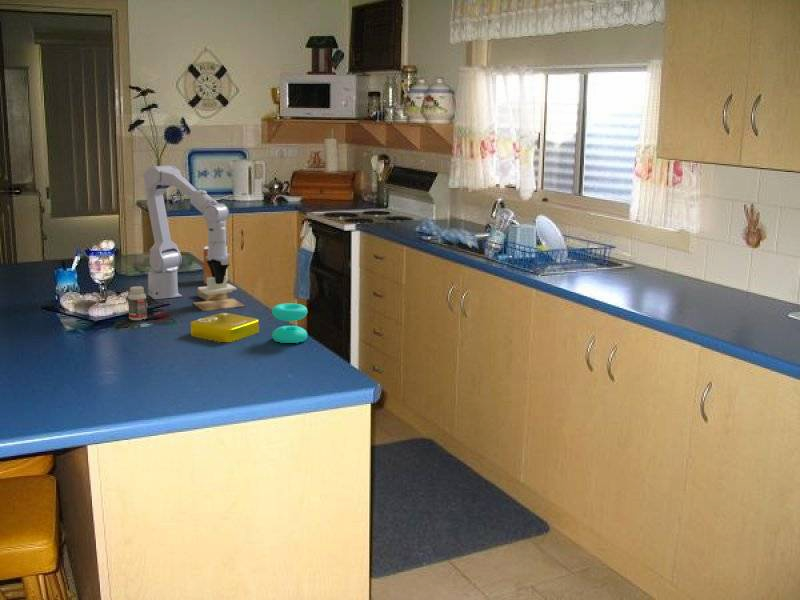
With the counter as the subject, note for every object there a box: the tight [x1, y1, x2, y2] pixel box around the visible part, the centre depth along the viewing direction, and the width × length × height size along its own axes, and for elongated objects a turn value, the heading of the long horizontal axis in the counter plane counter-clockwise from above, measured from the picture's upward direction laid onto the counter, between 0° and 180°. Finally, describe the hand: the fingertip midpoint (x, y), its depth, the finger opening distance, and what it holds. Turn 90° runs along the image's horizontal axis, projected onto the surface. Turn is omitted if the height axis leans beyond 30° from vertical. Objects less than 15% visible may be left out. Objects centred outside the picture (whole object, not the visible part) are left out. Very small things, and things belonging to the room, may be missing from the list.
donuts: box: [271, 302, 308, 344], centre depth 240 cm, size 10×10×10 cm
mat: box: [192, 297, 246, 312], centre depth 277 cm, size 14×11×1 cm
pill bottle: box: [127, 285, 148, 321], centre depth 258 cm, size 5×5×10 cm
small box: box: [203, 245, 228, 285], centre depth 309 cm, size 8×6×13 cm
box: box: [197, 289, 229, 301], centre depth 287 cm, size 7×10×3 cm
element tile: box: [190, 311, 260, 343], centre depth 245 cm, size 15×15×5 cm
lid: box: [197, 276, 238, 295], centre depth 276 cm, size 8×11×5 cm
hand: (218, 282), depth 276 cm, fingers closed on lid
